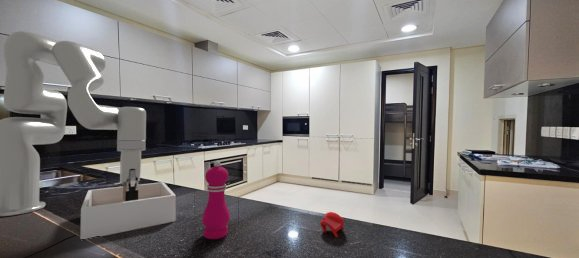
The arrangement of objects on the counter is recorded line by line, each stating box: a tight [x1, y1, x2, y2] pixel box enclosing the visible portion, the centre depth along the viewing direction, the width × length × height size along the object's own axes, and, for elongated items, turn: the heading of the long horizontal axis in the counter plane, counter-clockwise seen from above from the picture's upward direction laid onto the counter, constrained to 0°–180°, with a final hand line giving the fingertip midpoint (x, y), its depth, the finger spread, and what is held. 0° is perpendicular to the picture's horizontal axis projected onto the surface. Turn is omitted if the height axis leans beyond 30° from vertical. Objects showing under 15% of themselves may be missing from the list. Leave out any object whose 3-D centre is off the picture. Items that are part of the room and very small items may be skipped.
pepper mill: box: [201, 160, 231, 240], centre depth 64 cm, size 7×7×20 cm
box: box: [79, 181, 177, 240], centre depth 74 cm, size 22×22×8 cm
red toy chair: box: [319, 211, 345, 238], centre depth 66 cm, size 8×6×6 cm
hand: (130, 199), depth 74 cm, fingers open, 9 cm apart
